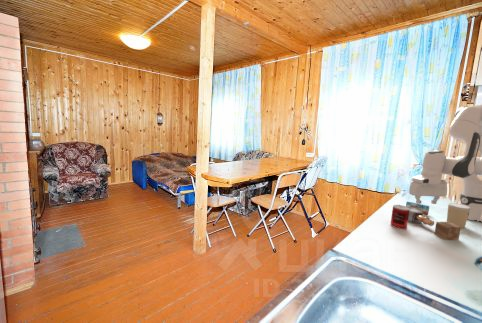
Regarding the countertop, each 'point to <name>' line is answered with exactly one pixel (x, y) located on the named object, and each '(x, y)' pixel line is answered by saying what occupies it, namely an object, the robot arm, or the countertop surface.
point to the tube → (424, 220)
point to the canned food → (400, 216)
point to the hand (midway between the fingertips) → (426, 203)
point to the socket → (447, 230)
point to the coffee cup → (457, 214)
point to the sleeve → (412, 214)
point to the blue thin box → (418, 207)
